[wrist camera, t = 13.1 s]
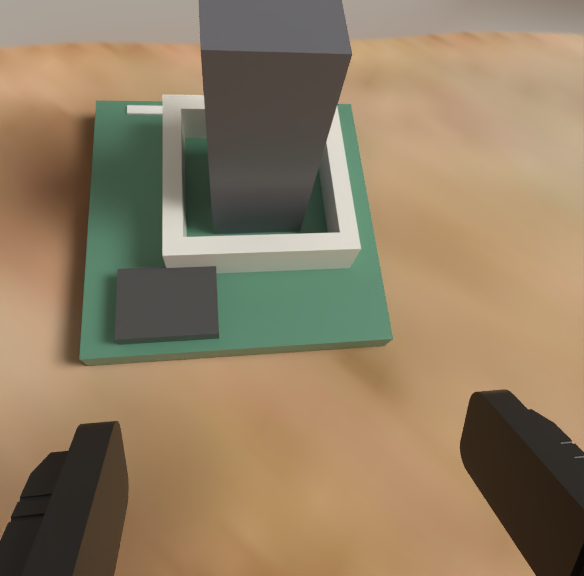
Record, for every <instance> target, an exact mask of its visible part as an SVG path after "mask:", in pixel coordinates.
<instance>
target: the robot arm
mask: <svg viewBox="0 0 584 576" xmlns="http://www.w3.org/2000/svg"><path fill="white" fill-rule="evenodd" d="M460 453H461V458H462V461H463V464H464V467H465V469H466V470H467V472H468V473H469V475H470V476H471V478H472V479H473V481H474V483H475V484H476V486H477V487H478V489H479V490H480V492H481V493H482V495H483V496H484V498H485V499H486V501H487V502H488V504H489V505H490V507H491V508H492V510H493V511H494V513H495V514H496V516H497V517H498V519H499V520H500V522H501V523H502V525H503V526H504V528H505V529H506V531H507V532H508V534H509V535H510V537H511V538H512V540H513V541H514V543H515V545H516V546H517V548H518V549H519V551H520V552H521V554H522V555H523V557H524V558H525V560H526V561H527V563H528V564H529V566H530V567H531V569H532V570H533V572H534V573H535V575H536V576H584V452H583V451H582V450H581V449H580V448H579V447H578V446H577V445H576V444H572V440H571V439H570V438H569V437H568V436H567V435H566V434H565V433H564V432H563V431H562V430H561V429H560V428H559V427H558V426H557V425H556V424H555V423H553V422H552V421H550V420H548V419H547V418H545V417H543V416H542V415H540V414H539V413H537V412H535V411H534V410H532V409H530V410H528V409H527V408H526V407H525V406H524V405H523V404H522V403H521V402H520V401H519V400H518V399H517V398H516V397H515V396H514V395H513V394H512V393H511V392H510V391H508V390H493V391H481V392H474V393H473V394H472V395H471V397H470V400H469V405H468V409H467V414H466V418H465V423H464V427H463V432H462V437H461V441H460ZM127 503H128V473H127V467H126V460H125V454H124V447H123V441H122V434H121V428H120V424H119V422H118V421H111V422H100V423H88V424H80V425H79V426H78V428H77V430H76V432H75V435H74V438H73V440H72V443H71V446H70V448H69V451H63V452H52V453H50V454H49V455H48V456H47V457H46V458H45V459H44V460H43V461H42V462H41V463H40V464H39V465H38V466H37V467H36V469H35V470H34V471H33V472H32V473H31V474H30V476H29V478H28V481H27V483H26V485H25V487H24V489H23V492H22V494H21V496H20V502H18V503H17V505H16V507H15V509H14V512H13V514H12V516H11V522H9V523H8V525H7V527H6V529H5V531H4V534H3V536H2V538H1V540H0V576H114V572H115V567H116V562H117V556H118V551H119V546H120V541H121V535H122V530H123V525H124V520H125V515H126V509H127Z"/></svg>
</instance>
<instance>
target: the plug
mask: <svg viewBox="0 0 584 576" xmlns="http://www.w3.org/2000/svg"><path fill="white" fill-rule="evenodd" d="M199 17H200V18H199V19H200V43H201V60H202V75H203V90H204V104H205V119H206V134H207V148H208V163H209V178H210V192H211V207H212V222H213V234H233V233H265V232H298V231H300V230H301V226H302V223H303V220H304V216H305V213H306V209H307V206H308V203H309V199H310V196H311V192H312V189H313V186H314V182H315V179H316V175H317V172H318V168H319V165H320V162H321V158H322V155H323V151H324V148H325V145H326V141H327V138H328V134H329V131H330V128H331V124H332V121H333V117H334V114H335V111H336V107H337V104H338V100H339V97H340V94H341V90H342V87H343V83H344V80H345V77H346V73H347V70H348V66H349V63H350V60H351V56H352V51H351V46H350V41H349V36H348V31H347V26H346V20H345V15H344V10H343V5H342V0H199Z"/></svg>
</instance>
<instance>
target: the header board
mask: <svg viewBox="0 0 584 576" xmlns="http://www.w3.org/2000/svg"><path fill="white" fill-rule="evenodd" d="M392 339H393V336H392V331H391V325H390V319H389V314H388V308H387V303H386V297H385V292H384V286H383V281H382V275H381V269H380V264H379V258H378V253H377V247H376V242H375V236H374V231H373V225H372V220H371V214H370V208H369V203H368V197H367V192H366V186H365V181H364V175H363V170H362V164H361V159H360V153H359V147H358V142H357V136H356V131H355V125H354V120H353V114H352V109H351V104H337V107H336V111H335V114H334V117H333V121H332V124H331V128H330V131H329V134H328V138H327V141H326V145H325V148H324V151H323V155H322V158H321V162H320V165H319V168H318V172H317V175H316V179H315V182H314V186H313V189H312V192H311V196H310V199H309V203H308V206H307V209H306V213H305V216H304V220H303V223H302V226H301V230H300V231H298V232H265V233H233V234H213V222H212V207H211V192H210V178H209V163H208V148H207V134H206V119H205V104H204V95H163V102H152V101H96V112H95V127H94V142H93V158H92V173H91V188H90V204H89V219H88V234H87V250H86V265H85V280H84V296H83V311H82V326H81V341H80V357H79V360H81V361H82V362H83V363H85V364H86V365H87V366H93V365H108V364H122V363H137V362H152V361H167V360H181V359H196V358H211V357H225V356H240V355H255V354H270V353H284V352H299V351H314V350H329V349H343V348H358V347H373V346H385V345H386V344H387V343H389V342H390V341H391V340H392Z"/></svg>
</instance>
